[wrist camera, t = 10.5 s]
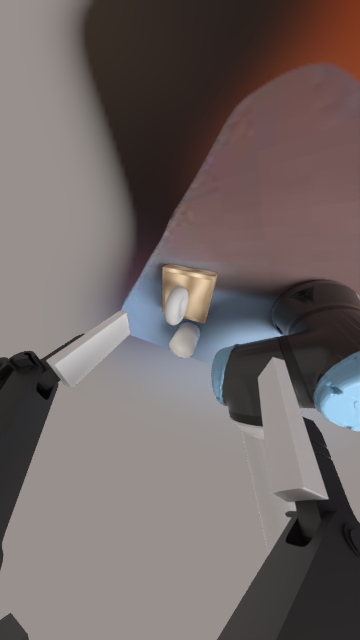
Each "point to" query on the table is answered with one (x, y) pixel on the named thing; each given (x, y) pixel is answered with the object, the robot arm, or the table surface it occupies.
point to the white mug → (185, 340)
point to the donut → (176, 305)
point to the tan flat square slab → (190, 289)
